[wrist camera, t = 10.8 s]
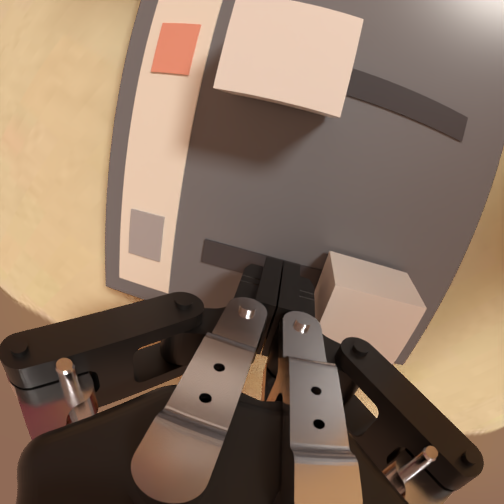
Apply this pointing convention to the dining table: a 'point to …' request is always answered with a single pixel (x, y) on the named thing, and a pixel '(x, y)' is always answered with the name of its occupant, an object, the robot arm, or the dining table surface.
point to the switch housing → (304, 153)
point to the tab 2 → (367, 304)
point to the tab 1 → (289, 54)
